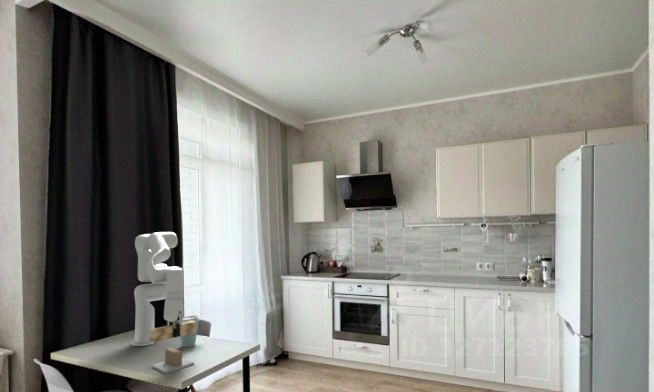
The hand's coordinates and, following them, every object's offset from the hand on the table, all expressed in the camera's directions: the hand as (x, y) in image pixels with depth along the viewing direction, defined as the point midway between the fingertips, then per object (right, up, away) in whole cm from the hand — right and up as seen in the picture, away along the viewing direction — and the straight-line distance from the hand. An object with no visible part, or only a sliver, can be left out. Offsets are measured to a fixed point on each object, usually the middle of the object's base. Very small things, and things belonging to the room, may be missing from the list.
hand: (173, 335), depth 176 cm
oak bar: (0, 0, 0) cm, 0 cm away
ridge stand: (0, -14, -1) cm, 14 cm away
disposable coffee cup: (-4, -16, +29) cm, 33 cm away
